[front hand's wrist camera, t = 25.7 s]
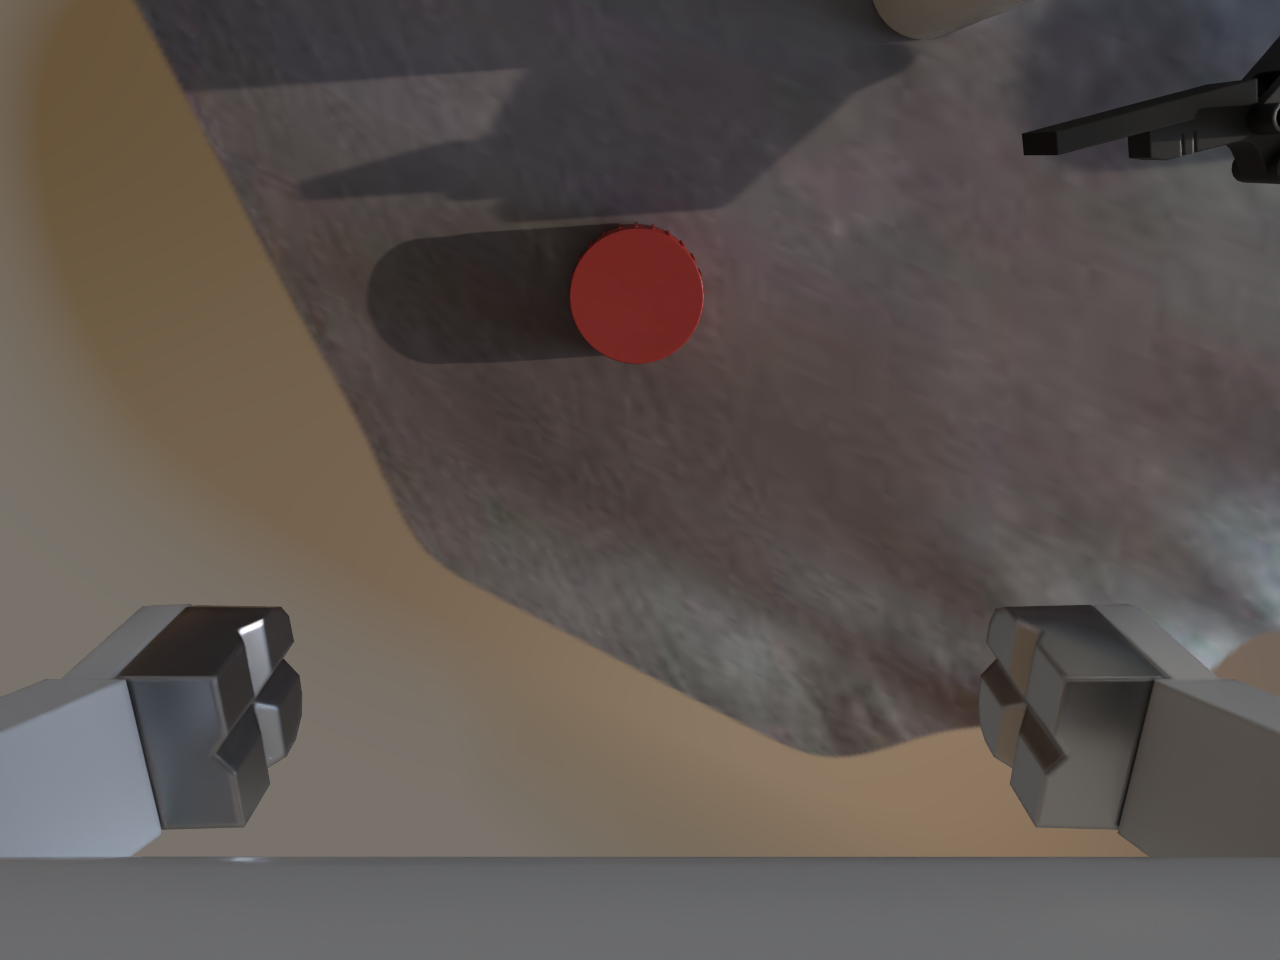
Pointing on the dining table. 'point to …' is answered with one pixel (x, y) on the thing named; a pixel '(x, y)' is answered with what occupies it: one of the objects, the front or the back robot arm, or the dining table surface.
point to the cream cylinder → (938, 15)
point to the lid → (636, 294)
